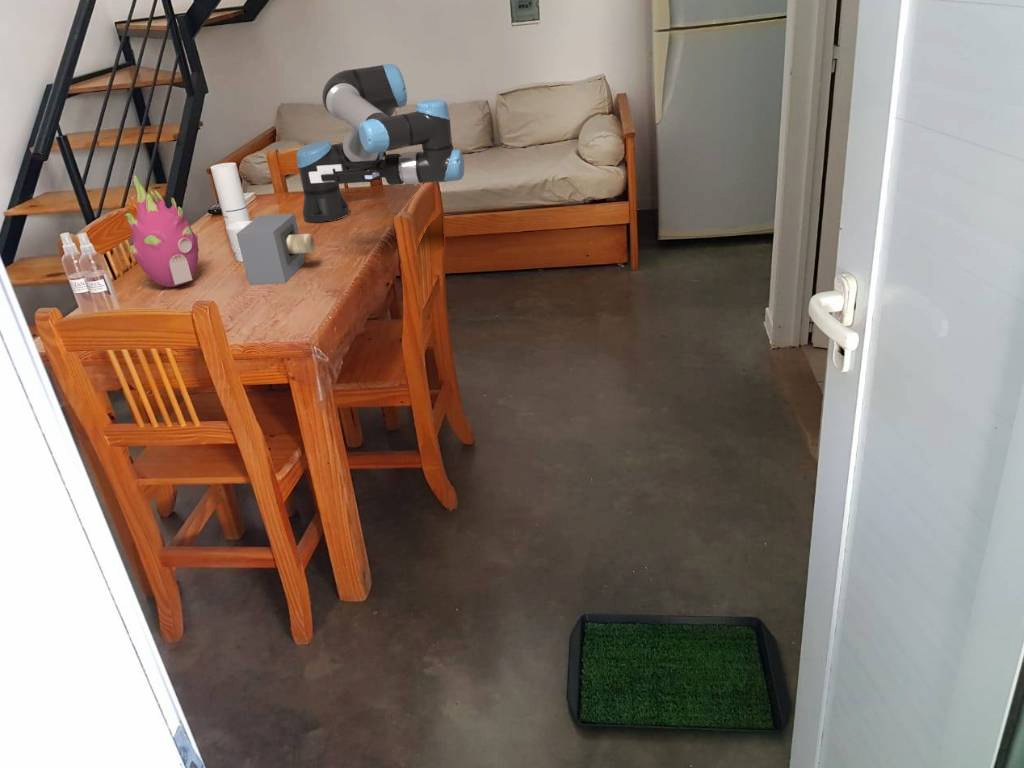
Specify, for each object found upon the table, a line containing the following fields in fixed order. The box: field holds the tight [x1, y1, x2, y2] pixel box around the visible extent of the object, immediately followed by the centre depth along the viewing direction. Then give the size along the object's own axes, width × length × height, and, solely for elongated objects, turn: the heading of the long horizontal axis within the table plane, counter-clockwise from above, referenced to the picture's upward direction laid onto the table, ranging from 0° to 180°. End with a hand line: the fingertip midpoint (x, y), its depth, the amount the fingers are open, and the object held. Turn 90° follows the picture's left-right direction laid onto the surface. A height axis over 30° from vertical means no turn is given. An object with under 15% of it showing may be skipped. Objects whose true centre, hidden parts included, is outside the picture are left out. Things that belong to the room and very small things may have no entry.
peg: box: [285, 233, 315, 254], centre depth 209 cm, size 10×5×5 cm, turn 84°
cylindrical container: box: [210, 162, 251, 253], centre depth 230 cm, size 7×7×25 cm
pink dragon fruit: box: [124, 175, 200, 288], centre depth 205 cm, size 18×14×30 cm
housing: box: [236, 213, 306, 286], centre depth 211 cm, size 11×16×14 cm, turn 174°
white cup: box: [225, 220, 253, 263], centre depth 226 cm, size 8×8×10 cm
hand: (314, 174), depth 200 cm, fingers open, 6 cm apart
